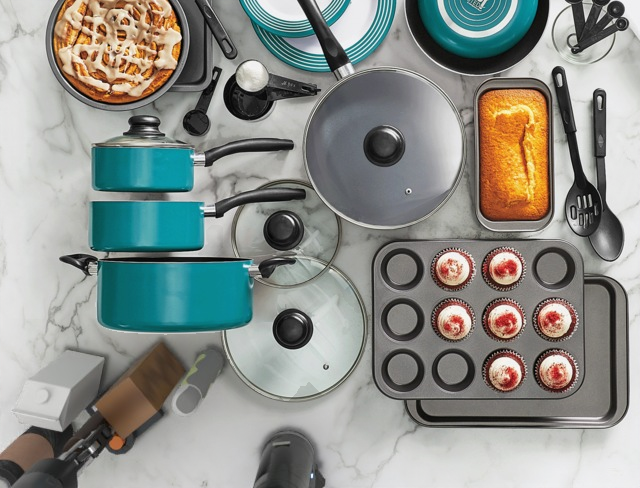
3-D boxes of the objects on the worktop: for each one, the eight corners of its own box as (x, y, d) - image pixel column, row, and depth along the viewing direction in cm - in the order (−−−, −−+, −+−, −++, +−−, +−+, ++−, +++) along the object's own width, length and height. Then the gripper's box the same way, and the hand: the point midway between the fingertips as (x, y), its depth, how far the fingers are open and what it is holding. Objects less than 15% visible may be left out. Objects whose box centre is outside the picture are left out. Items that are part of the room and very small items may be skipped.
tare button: (128, 439, 120) (125, 443, 118) (118, 448, 120) (115, 452, 118) (119, 429, 120) (116, 433, 118) (109, 437, 120) (106, 441, 118)
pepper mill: (134, 412, 118) (100, 456, 102) (113, 429, 119) (76, 475, 103) (117, 391, 118) (80, 431, 102) (96, 408, 119) (55, 451, 103)
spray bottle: (191, 361, 122) (160, 406, 102) (210, 342, 122) (182, 383, 102) (211, 380, 122) (183, 429, 102) (229, 361, 122) (205, 406, 102)
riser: (186, 370, 122) (157, 411, 104) (156, 395, 122) (122, 440, 104) (161, 340, 122) (128, 376, 104) (132, 365, 122) (93, 405, 104)
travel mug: (27, 420, 123) (-37, 476, 103) (66, 406, 123) (10, 459, 103) (42, 459, 123) (-19, 523, 103) (81, 445, 123) (28, 506, 103)
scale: (167, 416, 122) (162, 423, 119) (122, 452, 123) (116, 460, 120) (129, 370, 122) (124, 376, 119) (84, 407, 123) (78, 414, 120)
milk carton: (97, 395, 122) (51, 443, 103) (59, 387, 123) (6, 434, 104) (105, 357, 122) (60, 398, 103) (67, 349, 122) (14, 389, 103)
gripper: (13, 556, 89) (66, 491, 106) (95, 489, 89) (135, 434, 105) (-23, 512, 89) (35, 454, 106) (59, 445, 89) (105, 397, 105)
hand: (85, 444), depth 105 cm, fingers open, 8 cm apart
